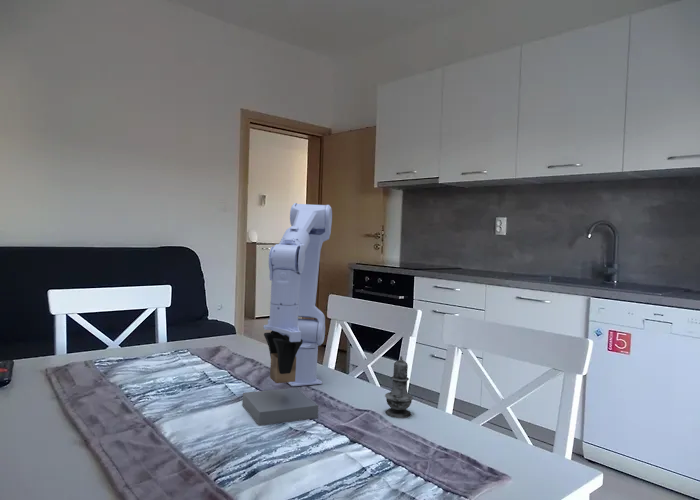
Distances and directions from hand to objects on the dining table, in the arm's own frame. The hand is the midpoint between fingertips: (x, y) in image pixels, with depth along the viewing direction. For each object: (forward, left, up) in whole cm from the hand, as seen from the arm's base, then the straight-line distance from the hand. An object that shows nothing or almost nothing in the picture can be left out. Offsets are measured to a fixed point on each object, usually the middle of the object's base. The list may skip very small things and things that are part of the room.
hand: (281, 370), depth 99 cm
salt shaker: (+9, +23, -9) cm, 26 cm away
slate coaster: (0, 0, -8) cm, 8 cm away
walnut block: (0, 0, -2) cm, 2 cm away
